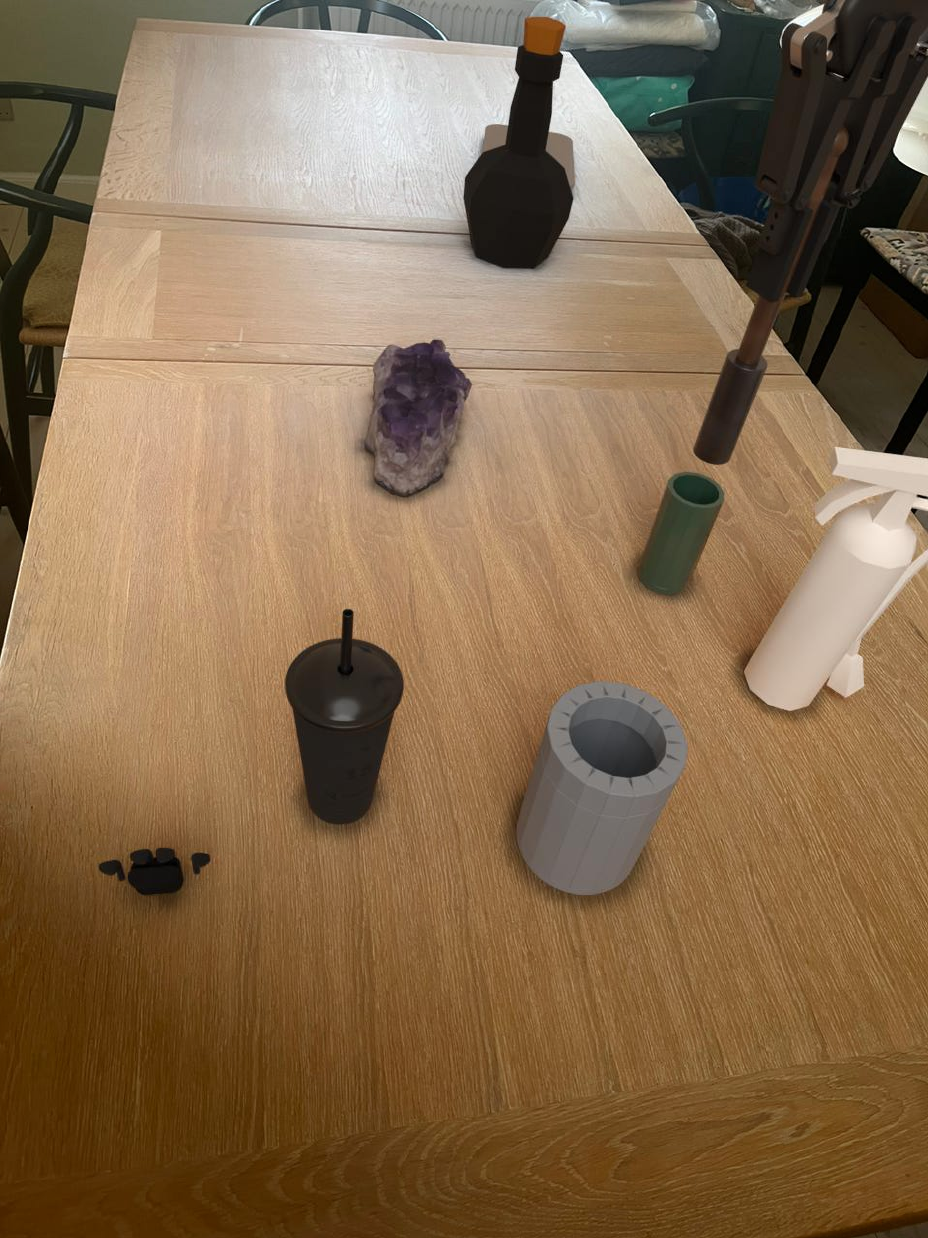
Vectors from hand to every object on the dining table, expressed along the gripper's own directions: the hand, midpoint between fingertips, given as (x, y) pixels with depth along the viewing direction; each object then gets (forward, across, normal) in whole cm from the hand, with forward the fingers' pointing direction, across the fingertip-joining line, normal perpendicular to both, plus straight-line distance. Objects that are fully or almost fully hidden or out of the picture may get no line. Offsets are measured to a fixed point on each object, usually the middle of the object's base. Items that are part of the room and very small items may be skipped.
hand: (773, 290), depth 67 cm
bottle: (+31, -26, -68) cm, 80 cm away
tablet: (+31, -48, -96) cm, 112 cm away
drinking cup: (+31, +38, +8) cm, 50 cm away
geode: (+31, +11, -30) cm, 45 cm away
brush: (+15, 0, 0) cm, 15 cm away
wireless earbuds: (+31, +52, +9) cm, 61 cm away
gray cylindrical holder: (+31, +24, +19) cm, 43 cm away
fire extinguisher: (+31, -3, +15) cm, 35 cm away
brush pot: (+31, -2, -2) cm, 31 cm away
